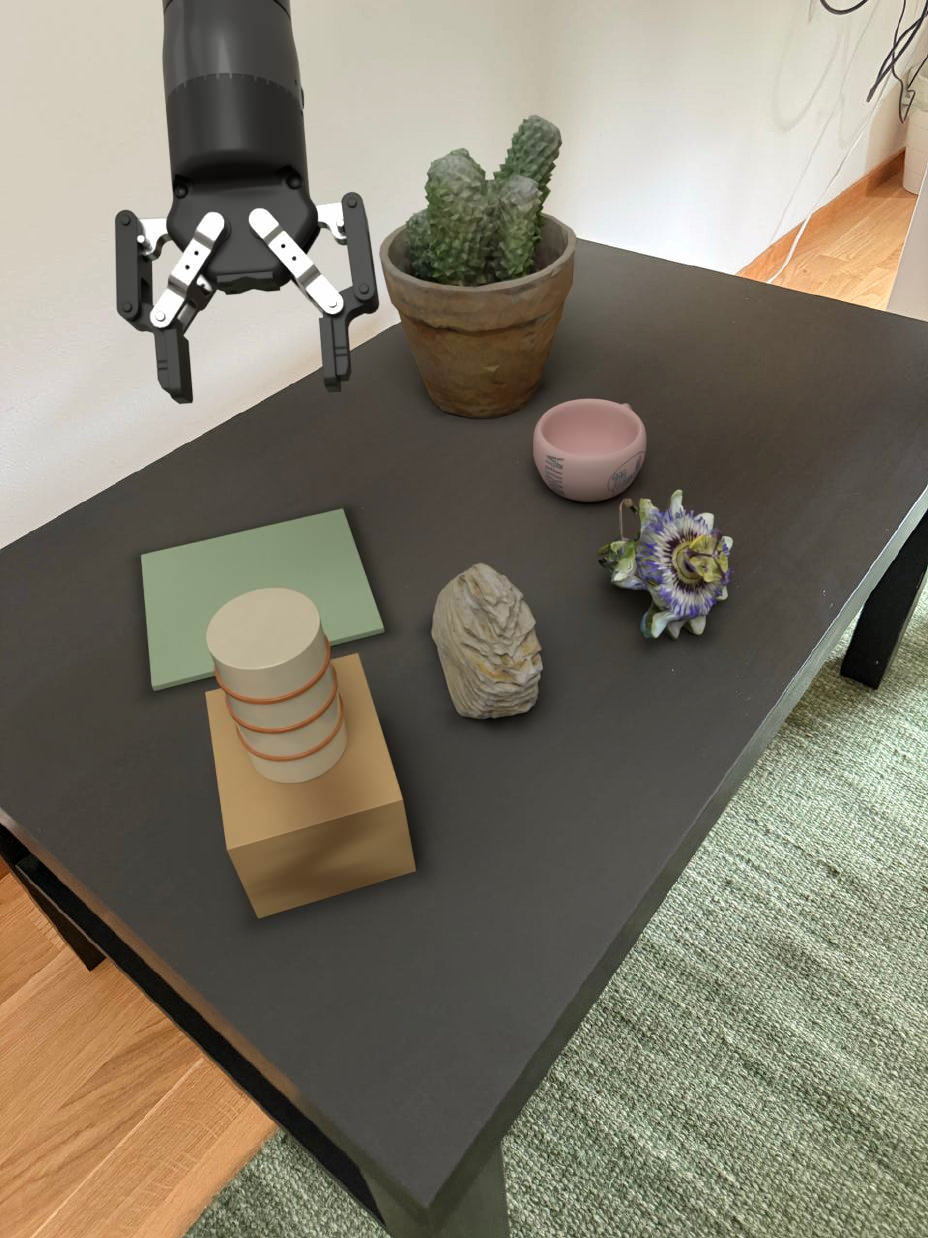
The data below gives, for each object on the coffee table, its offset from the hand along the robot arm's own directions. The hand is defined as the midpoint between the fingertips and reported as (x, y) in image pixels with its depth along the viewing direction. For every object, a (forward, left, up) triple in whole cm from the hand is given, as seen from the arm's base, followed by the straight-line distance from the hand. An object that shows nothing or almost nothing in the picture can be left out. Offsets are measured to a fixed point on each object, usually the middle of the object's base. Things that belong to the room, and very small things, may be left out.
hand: (257, 395), depth 52 cm
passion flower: (+26, 0, -25) cm, 36 cm away
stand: (-3, -11, -25) cm, 27 cm away
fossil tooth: (+11, -3, -25) cm, 28 cm away
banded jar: (-3, -11, -17) cm, 20 cm away
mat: (-4, +12, -25) cm, 28 cm away
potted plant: (+23, +35, -25) cm, 49 cm away
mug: (+28, +17, -25) cm, 41 cm away
